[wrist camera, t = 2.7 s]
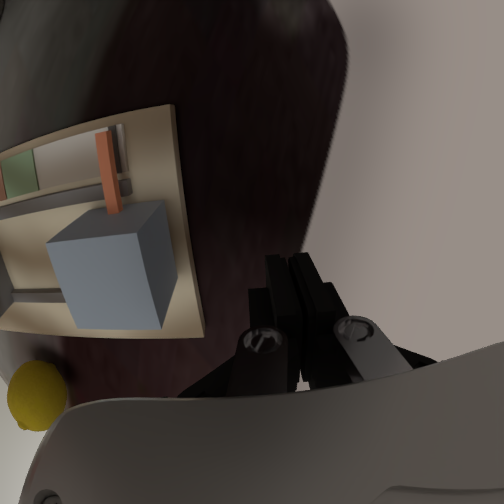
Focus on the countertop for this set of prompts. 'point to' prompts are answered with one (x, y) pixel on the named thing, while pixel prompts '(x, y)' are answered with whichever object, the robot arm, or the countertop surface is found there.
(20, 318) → the gauge board
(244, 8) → the countertop surface
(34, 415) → the lemon
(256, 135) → the countertop surface
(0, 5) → the grey metal cup
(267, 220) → the countertop surface
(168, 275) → the slider block with pointer
